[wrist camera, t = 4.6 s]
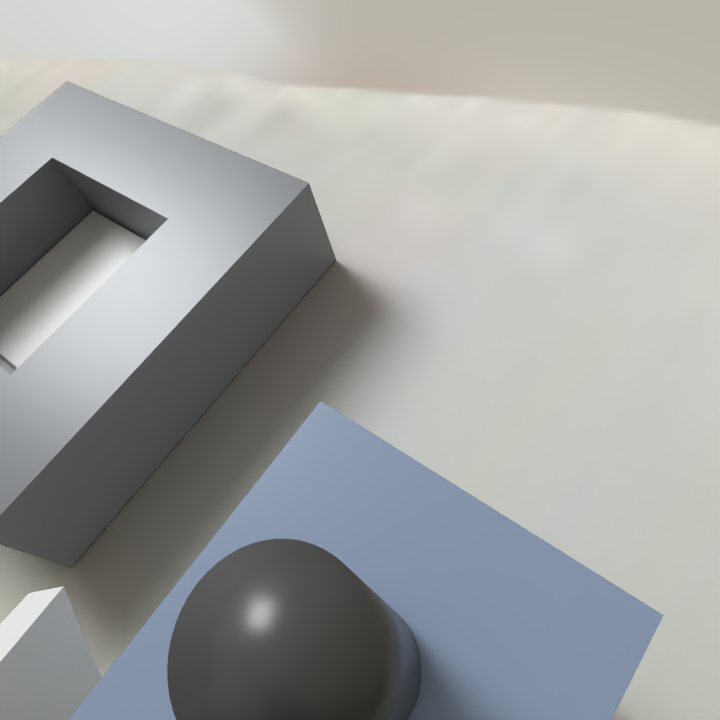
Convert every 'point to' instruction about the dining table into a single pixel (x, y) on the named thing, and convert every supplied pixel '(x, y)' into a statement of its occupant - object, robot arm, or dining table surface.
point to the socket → (127, 302)
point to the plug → (375, 606)
